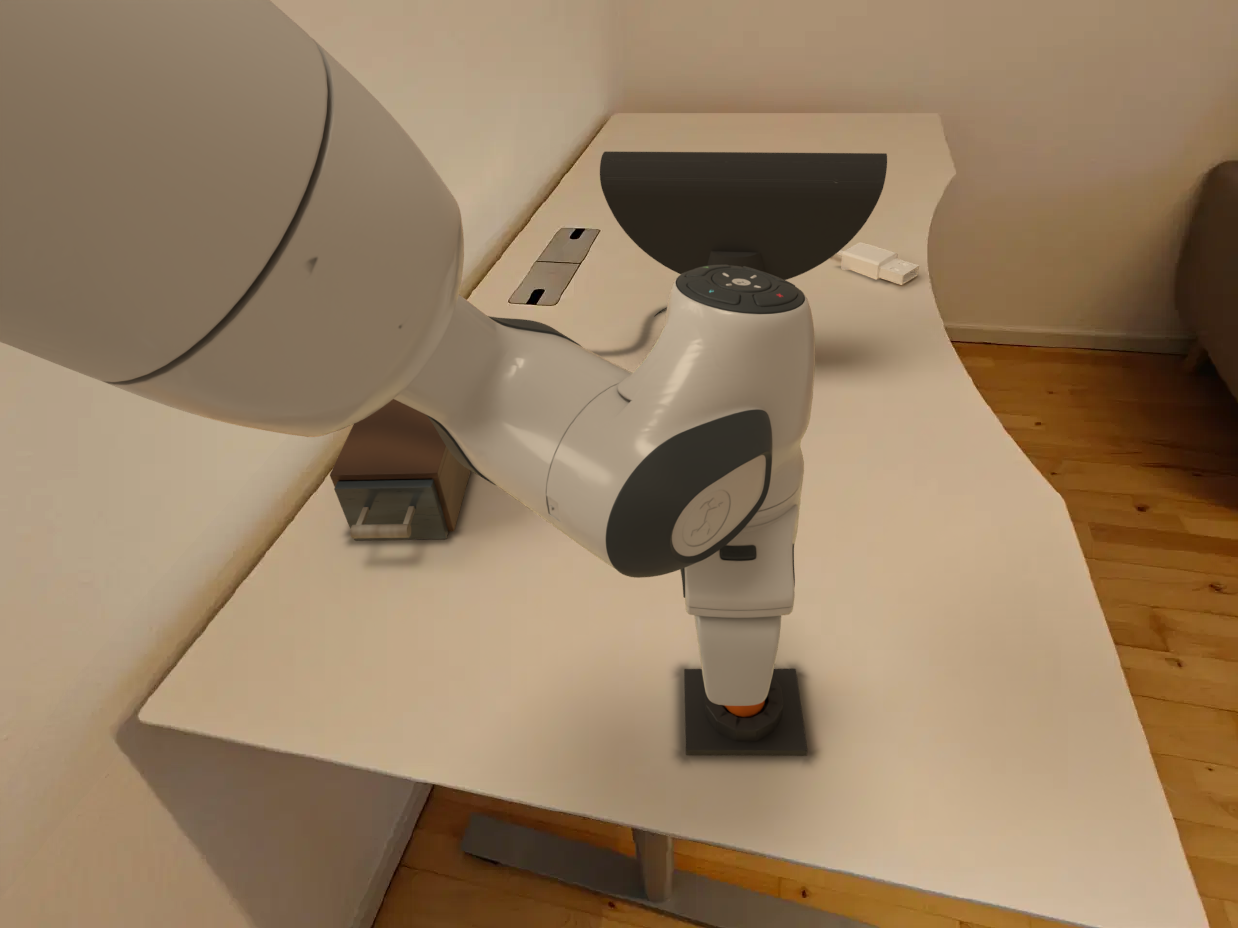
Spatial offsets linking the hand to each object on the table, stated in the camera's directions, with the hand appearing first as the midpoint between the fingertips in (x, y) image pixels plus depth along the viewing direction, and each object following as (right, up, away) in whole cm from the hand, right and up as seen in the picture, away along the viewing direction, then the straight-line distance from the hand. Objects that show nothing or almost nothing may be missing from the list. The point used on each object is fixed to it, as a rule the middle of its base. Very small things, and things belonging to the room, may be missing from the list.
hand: (725, 631), depth 62 cm
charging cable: (+26, +47, +73) cm, 90 cm away
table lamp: (+2, +27, +52) cm, 58 cm away
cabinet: (-32, +9, +34) cm, 48 cm away
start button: (+2, -7, +7) cm, 10 cm away
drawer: (-32, +8, +31) cm, 45 cm away
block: (+3, -10, +9) cm, 13 cm away
